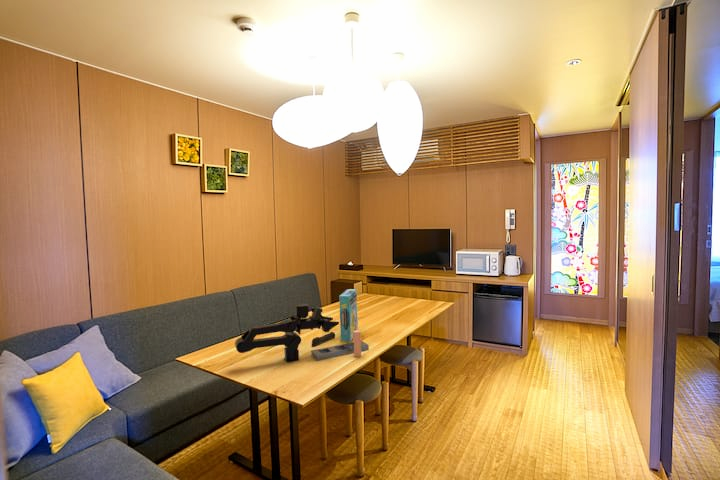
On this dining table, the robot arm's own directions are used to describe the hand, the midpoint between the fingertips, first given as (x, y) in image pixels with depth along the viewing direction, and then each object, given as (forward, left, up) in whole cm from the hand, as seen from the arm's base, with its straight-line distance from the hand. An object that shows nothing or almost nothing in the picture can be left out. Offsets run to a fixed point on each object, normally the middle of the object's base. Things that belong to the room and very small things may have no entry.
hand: (335, 320), depth 206 cm
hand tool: (-1, +17, -17) cm, 24 cm away
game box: (+17, +19, -17) cm, 30 cm away
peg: (+7, -12, -17) cm, 22 cm away
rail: (+1, -3, -17) cm, 17 cm away
